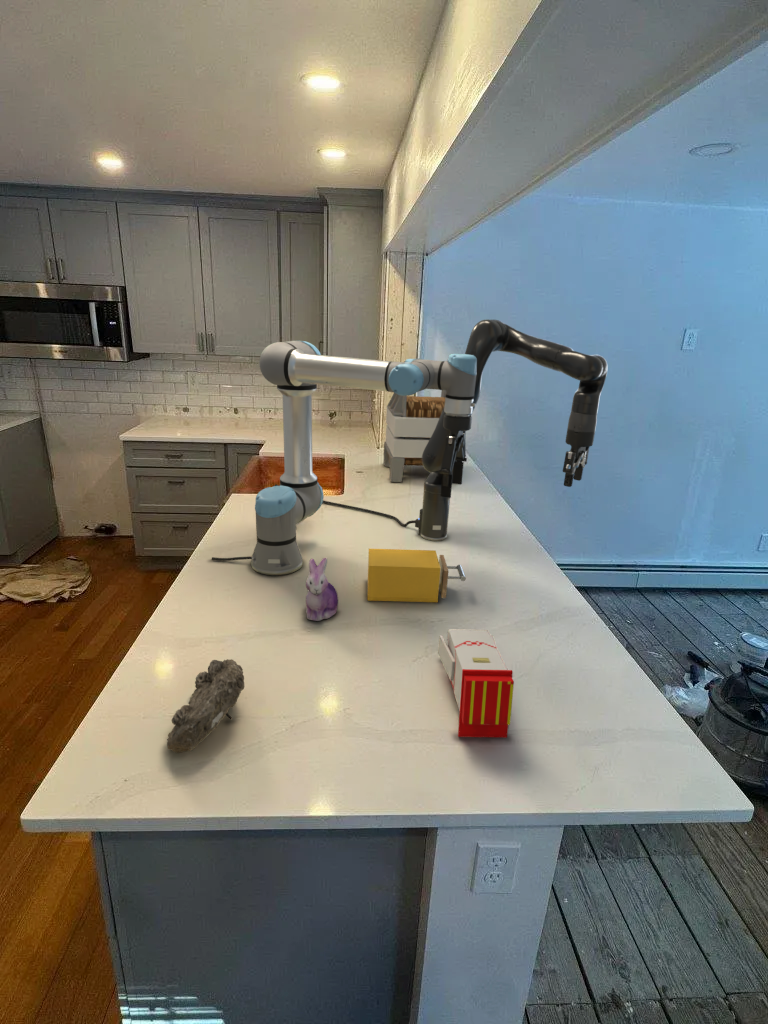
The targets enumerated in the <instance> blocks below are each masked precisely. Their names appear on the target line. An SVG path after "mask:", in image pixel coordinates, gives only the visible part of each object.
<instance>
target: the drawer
mask: <svg viewBox="0 0 768 1024" xmlns="http://www.w3.org/2000/svg"><path fill="white" fill-rule="evenodd" d="M438 561H439V564H440V580H439V593H440V597H441V599H447V590H448V582H449V581H448V580H460V581H461V582H465V581H467V577H466V574H465V571H464V569H463V566H462V565H461V564H457V565H456V566H455V565H454V566H453V565H447V561H446V558H445V555H444V554H439V557H438ZM449 570H457V573H458V576H457V575H456V576H453V575H449Z"/></svg>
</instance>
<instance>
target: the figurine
mask: <svg viewBox="0 0 768 1024" xmlns="http://www.w3.org/2000/svg"><path fill="white" fill-rule="evenodd" d="M327 565H328V558H327V557H323V558H322V559H321V561H320V562H319V563H318V565H317V563H316V561H315V559H314V558H310V559H309V561H308V571H309V574H308V576H307V578H306V581H305V588H306V590H307V593H306V595H305V605H306V609H305V613H306V619H308V620H310V621H314V622H316V621H317V622H320V621H322V620H327V619H329V618H332V617H333V616H334V615H336V613H337V611H338V604H339V597H338V592H337V589H336V588H335V586H334V585H333V584H332V583H331V582H329V581H328V578H327V576H326V574H325V571H326V568H327Z"/></svg>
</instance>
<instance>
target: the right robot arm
mask: <svg viewBox="0 0 768 1024" xmlns="http://www.w3.org/2000/svg"><path fill="white" fill-rule="evenodd" d="M494 352H505V353H510V354H515V355H517V356H520V357H523V358H525V359H527V360H529V361H531V362H532V363H534V364H536V365H538V366H541V367H544V368H546V369H549V370H552V371H556V372H560V373H562V374H564V375H565V376H568V377H570V378H572V379H575V380H576V381H579V385H578V388H577V389H576V391H575V392H574V393H573V397H572V403H571V409H570V414H569V417H568V422H567V428H566V435H565V444H567V445H569V446H570V450H569V451H568V450H567V451H566V452H565V456H564V462H563V467H562V473H565V474H564V479H563V486H564V487H568V488H571V487H573V482H574V481H579V482H580V481H582V478H583V473H584V468H585V467H586V465H587V464H588V459H589V452H590V448H591V447H593V445H594V440H595V435H596V429H597V423H598V412H599V405H600V398H601V394H602V392H603V389H604V386H605V382H606V379H607V376H608V367H609V365H608V362H607V360H606V359H605V358H604V356H602V355H600V354H586V353H582V352H579V351H576V350H574V349H573V348H572V347H570V346H567V345H564V344H560V343H557V342H554V341H551V340H547V339H543V338H540V337H537V336H533V335H531V334H527V333H524V332H522V331H520V330H518V329H516V328H514V327H512V326H510V325H508V324H506V323H505V322H502V321H501V320H499V319H487V318H486V319H482V320H480V321H478V322H477V323H476V324H475V325H474V326H473V328H472V330H471V332H470V334H469V338H468V342H467V345H466V348H465V351H464V354H468V355H473V356H475V357H476V359H477V369H476V373H477V375H476V382H475V391H474V399H473V403H475V407H473V411H472V414H470V415H471V416H472V415H473V413H474V411H475V408H476V406H477V404H478V401H479V399H480V396H481V389H482V378H483V373H484V370H485V367H486V365H487V362H488V360H489V358H490V356H491V355H492V353H494ZM444 406H445V405H444ZM445 414H446V413H445V412H444V408H443V410H442V413H441V415H440V418H439V420H438V423H437V425H436V428H435V430H434V432H433V434H432V436H431V438H430V440H429V442H428V443H427V445H426V447H425V449H424V451H423V454H422V464H423V466H422V467H423V468H424V470H425V471H427V472H428V473H429V474H428V476H427V477H426V478H425V480H424V482H423V493H422V496H423V497H422V506H421V508H420V509H419V516H418V518H416V519H415V520H407V522H405V523H402V521H401V520H400V519H399V518H397V517H396V516H394V515H391V514H388V513H384V512H380V511H376V510H372V509H367V508H363V507H359V506H354V505H348V504H342V503H338V502H332V501H328V500H324V499H323V503H322V504H327V505H332V506H337V507H342V508H345V509H352V510H356V511H362V512H366V513H370V514H374V515H379V516H382V517H387V518H390V519H392V520H394V521H396V522H397V523H398V525H399V526H401V527H404V528H406V527H407V526H409V525H411V524H414V527H415V528H418V530H417V535H418V536H420V538H421V539H424V540H426V541H432V542H440V541H444V540H446V539H447V538H448V525H449V517H450V516H449V514H450V504H451V497H450V498H448V497H441V496H440V495H441V483H442V473H439V470H441V466H442V460H443V455H444V450H445V444H446V436H449V435H450V430H449V429H445V428H444V427H443V420H444V415H445ZM455 461H456V460H455ZM446 469H448V468H446ZM452 474H453V470H452ZM274 486H279V485H278V484H274Z"/></svg>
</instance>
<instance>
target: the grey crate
mask: <svg viewBox="0 0 768 1024" xmlns="http://www.w3.org/2000/svg"><path fill="white" fill-rule="evenodd" d="M440 393H441V394H440V396H415V395H414V396H413V395H409V396H401V395H398V394H396V393H394V392H393V394H392V395H391V398H390V400H389V402H388V404H387V405H386V413H385V414H386V415H385V423H386V428H385V438H384V442H383V466H384V467H388V468H389V475H388V476H389V477H388V478H389V480H390V482H391V483H402V482H403V475H404V469H405V466H406V467H407V466H411V467H412V466H413V467H415V466H416V467H417V466H418V467H423V464H422V454H423V451H424V449H425V447H426V445H427V443H428V442H429V440H430V438H431V436H432V434H433V432H434V430H435V428H436V425H437V423H438V420H439V418H440V415H441V413H442V410H443V408H444V405H445V396H446V390H441V392H440Z"/></svg>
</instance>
